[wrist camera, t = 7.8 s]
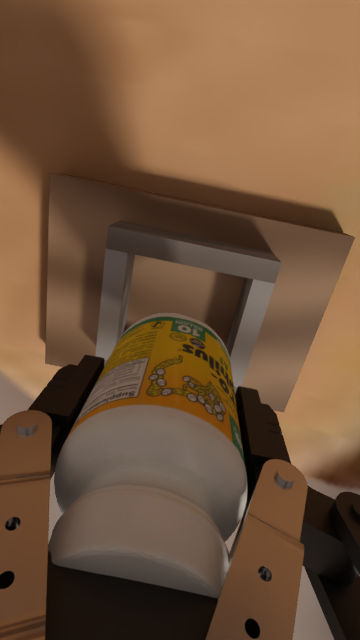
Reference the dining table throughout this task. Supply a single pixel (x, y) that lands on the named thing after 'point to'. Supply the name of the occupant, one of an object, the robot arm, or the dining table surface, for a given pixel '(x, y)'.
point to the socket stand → (186, 278)
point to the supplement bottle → (155, 462)
